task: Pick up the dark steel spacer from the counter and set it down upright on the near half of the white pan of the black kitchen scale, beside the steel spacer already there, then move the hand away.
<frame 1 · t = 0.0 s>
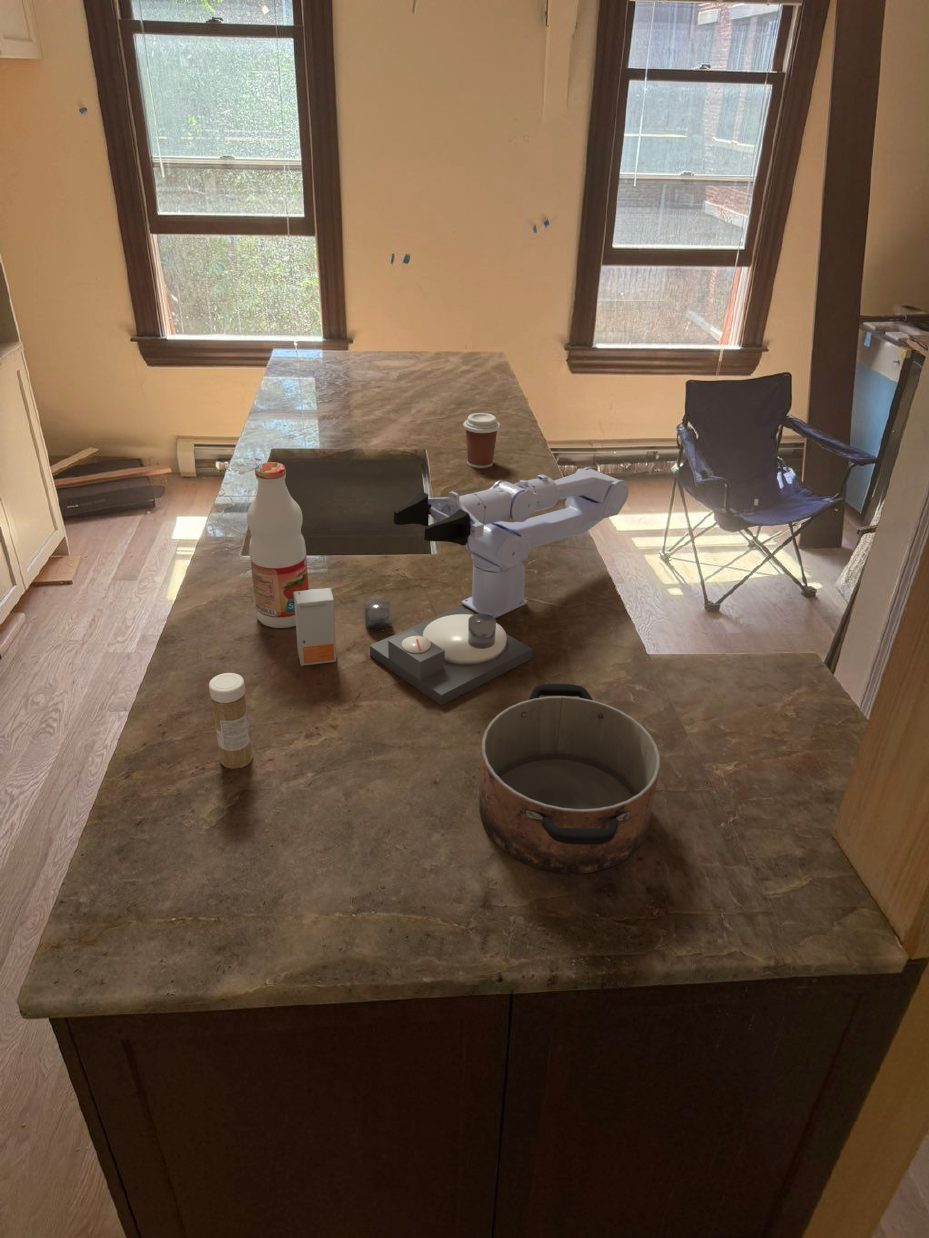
hand: (410, 526, 138), 22 cm above the worktop, tool horizontal, fingers open, 7 cm apart
cooking pot: (562, 812, 116), on the worktop
skincare box: (317, 658, 145), on the worktop
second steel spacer: (377, 624, 154), on the worktop
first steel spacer: (481, 641, 145), point 3 cm above the worktop, touching kitchen scale
sprinkles bottle: (237, 760, 123), on the worktop
coffee cup: (480, 464, 221), on the worktop
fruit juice: (284, 616, 156), on the worktop
kitchen scale: (450, 657, 146), on the worktop
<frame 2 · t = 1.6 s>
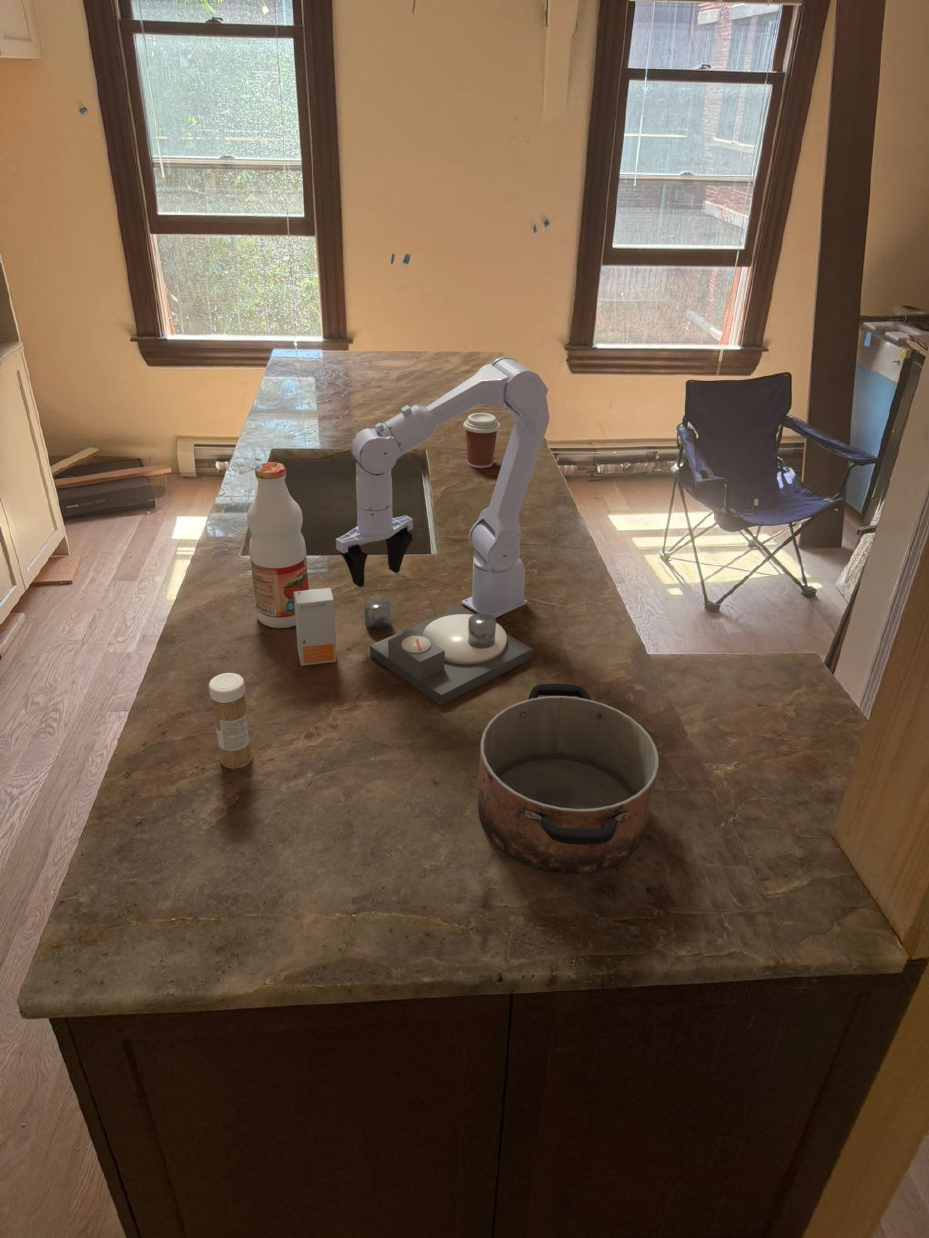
hand: (376, 577, 149), 9 cm above the worktop, tool pointing down, fingers open, 7 cm apart
nothing on the worktop moved.
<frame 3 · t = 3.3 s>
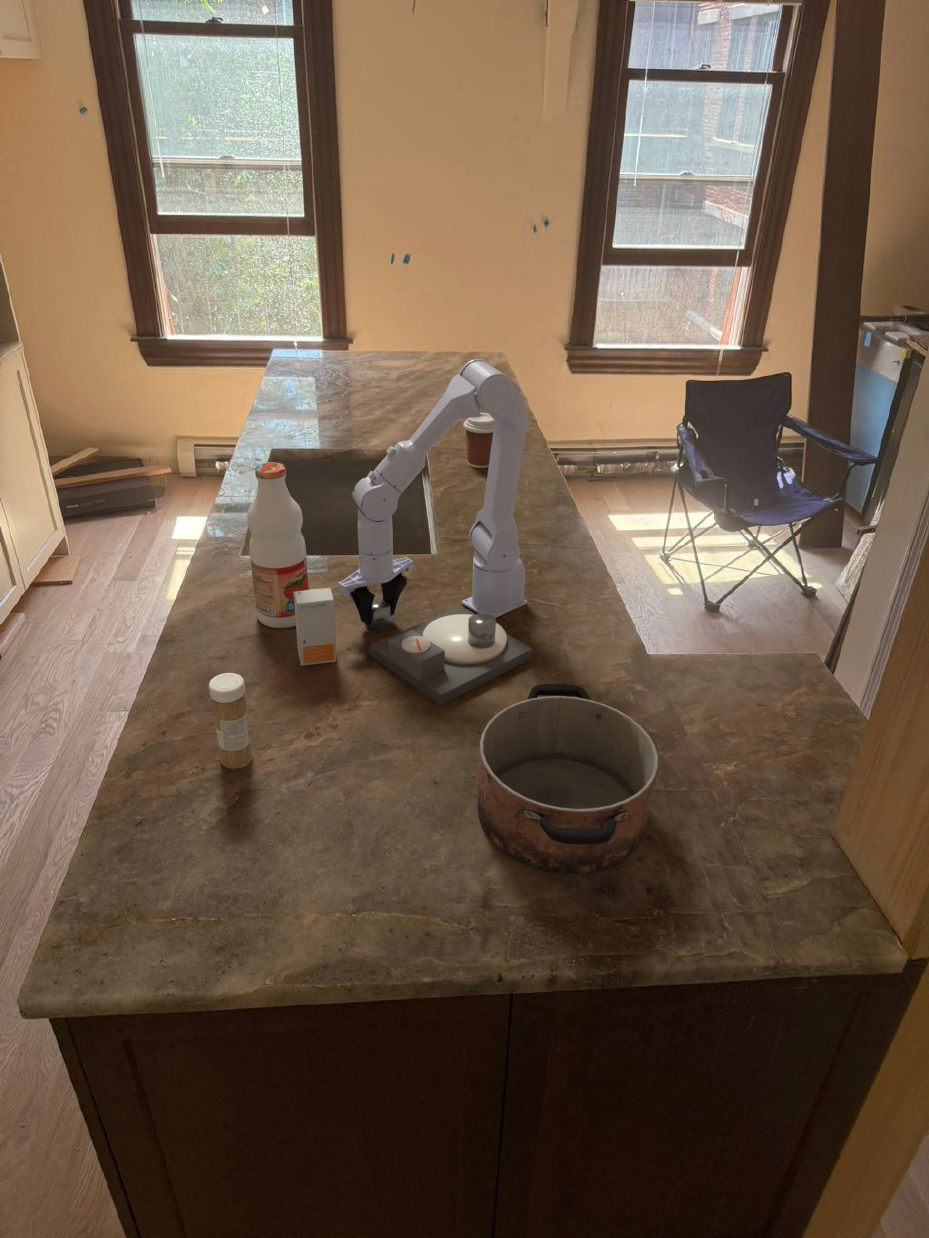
hand: (377, 617, 153), 1 cm above the worktop, tool pointing down, fingers closed on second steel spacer, 4 cm apart
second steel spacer: (377, 624, 154), on the worktop, touching gripper
everything else where it was.
when the fingers open (6 cm above the worktop, at t = 9.0 s): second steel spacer stays where it is, resting on kitchen scale.
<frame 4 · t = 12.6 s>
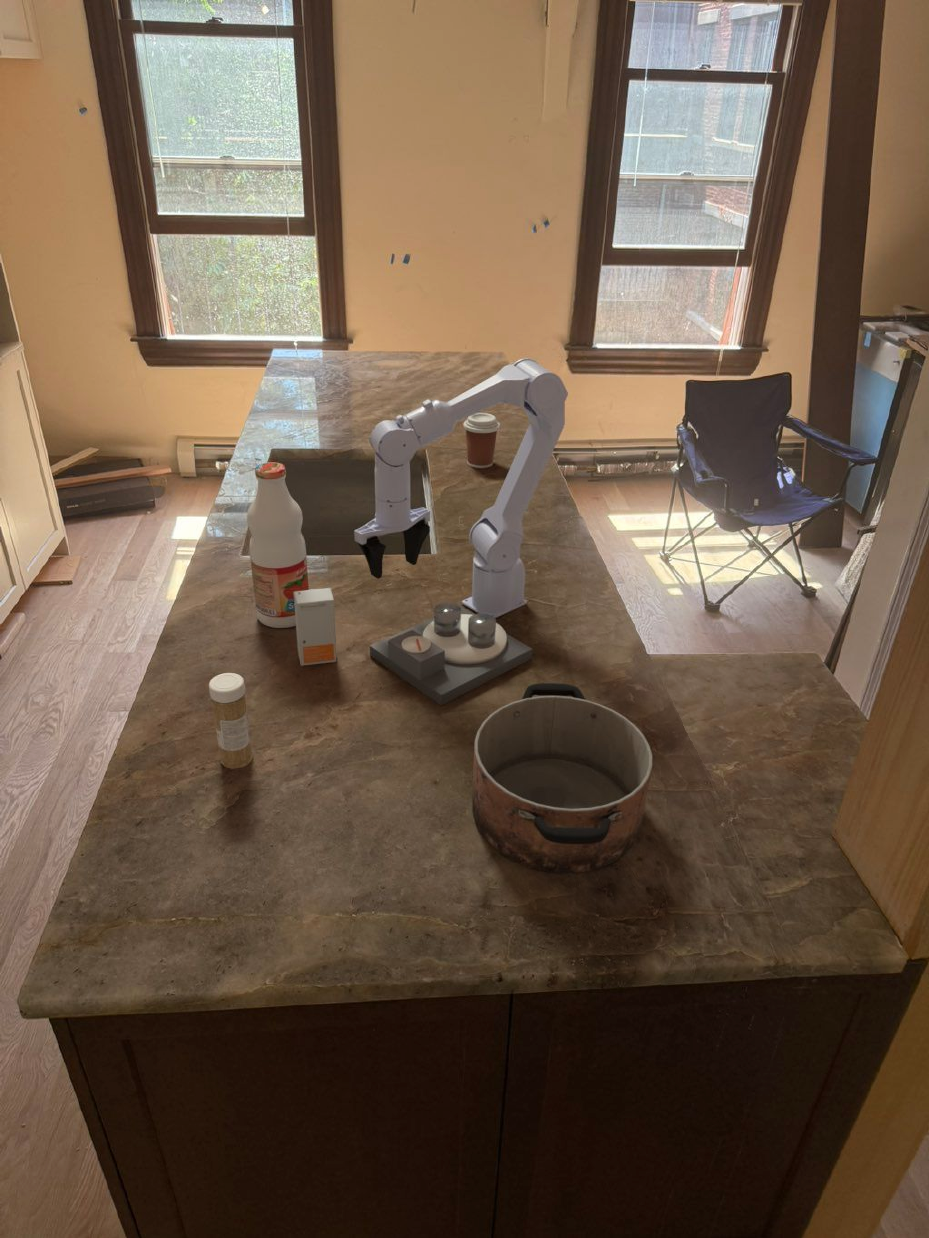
hand: (394, 569, 150), 10 cm above the worktop, tool pointing down, fingers open, 7 cm apart
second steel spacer: (447, 629, 148), point 3 cm above the worktop, touching kitchen scale
everything else where it was.
at the end: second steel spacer inside the target area on the kitchen scale (1.1 cm from its centre), point 3.0 cm above the kitchen scale's base; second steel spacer tilted 0°; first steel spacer moved 0.0 cm from its start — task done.
